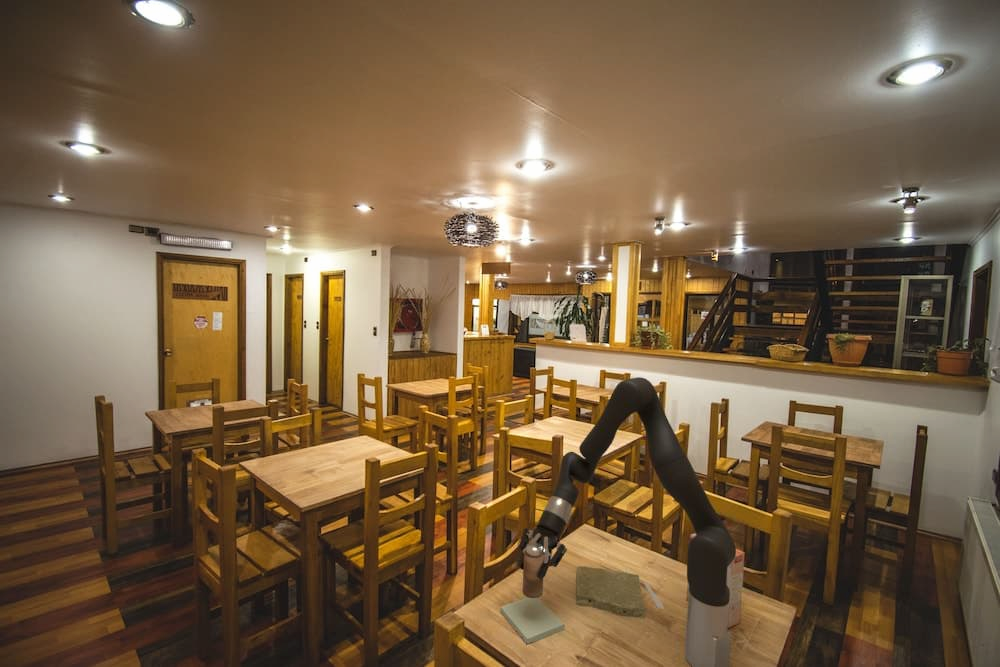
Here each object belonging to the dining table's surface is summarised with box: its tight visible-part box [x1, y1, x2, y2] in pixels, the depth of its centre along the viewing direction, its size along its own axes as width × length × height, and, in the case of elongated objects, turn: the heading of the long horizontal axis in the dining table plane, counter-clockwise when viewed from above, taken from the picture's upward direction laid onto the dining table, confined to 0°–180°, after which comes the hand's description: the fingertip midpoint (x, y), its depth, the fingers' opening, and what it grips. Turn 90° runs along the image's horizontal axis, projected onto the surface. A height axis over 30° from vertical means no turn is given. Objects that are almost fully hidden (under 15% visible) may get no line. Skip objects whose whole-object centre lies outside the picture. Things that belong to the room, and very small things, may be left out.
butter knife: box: [643, 581, 665, 611], centre depth 145 cm, size 1×27×3 cm
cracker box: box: [686, 532, 745, 629], centre depth 131 cm, size 14×6×21 cm, turn 27°
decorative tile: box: [575, 565, 646, 619], centre depth 138 cm, size 19×20×4 cm
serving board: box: [499, 596, 565, 645], centre depth 125 cm, size 14×12×2 cm
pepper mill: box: [522, 542, 544, 598], centre depth 124 cm, size 6×6×13 cm
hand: (529, 572), depth 123 cm, fingers closed on pepper mill, 5 cm apart
